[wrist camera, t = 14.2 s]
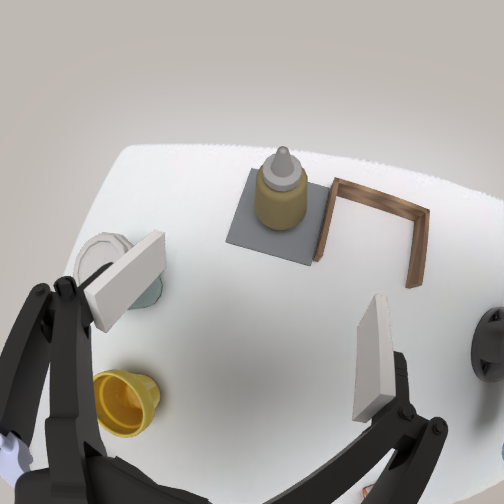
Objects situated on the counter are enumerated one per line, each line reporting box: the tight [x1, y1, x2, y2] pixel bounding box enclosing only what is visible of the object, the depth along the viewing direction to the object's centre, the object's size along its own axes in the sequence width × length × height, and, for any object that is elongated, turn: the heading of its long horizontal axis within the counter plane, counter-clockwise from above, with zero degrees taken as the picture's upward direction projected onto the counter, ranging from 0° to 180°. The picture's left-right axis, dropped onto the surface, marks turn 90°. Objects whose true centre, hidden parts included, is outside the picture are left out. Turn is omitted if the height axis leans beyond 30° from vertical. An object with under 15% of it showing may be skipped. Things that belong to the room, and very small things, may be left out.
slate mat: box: [225, 168, 329, 266], centre depth 45 cm, size 14×14×1 cm
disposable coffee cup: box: [73, 232, 162, 310], centre depth 37 cm, size 11×11×15 cm
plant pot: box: [93, 369, 160, 438], centre depth 35 cm, size 10×10×10 cm
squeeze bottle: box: [254, 146, 307, 230], centre depth 36 cm, size 8×8×18 cm
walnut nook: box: [313, 177, 430, 289], centre depth 41 cm, size 18×13×4 cm
